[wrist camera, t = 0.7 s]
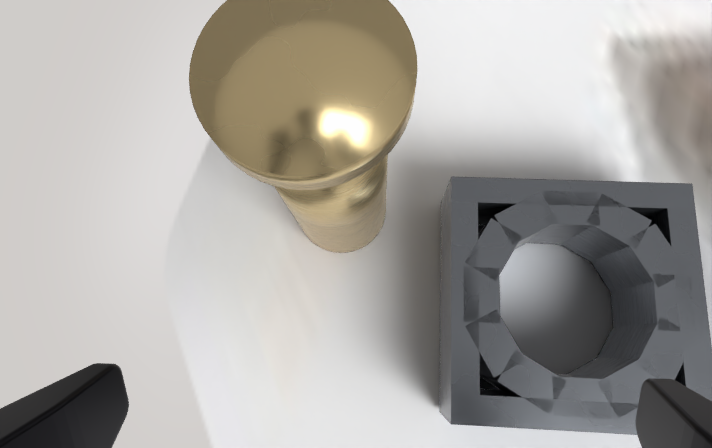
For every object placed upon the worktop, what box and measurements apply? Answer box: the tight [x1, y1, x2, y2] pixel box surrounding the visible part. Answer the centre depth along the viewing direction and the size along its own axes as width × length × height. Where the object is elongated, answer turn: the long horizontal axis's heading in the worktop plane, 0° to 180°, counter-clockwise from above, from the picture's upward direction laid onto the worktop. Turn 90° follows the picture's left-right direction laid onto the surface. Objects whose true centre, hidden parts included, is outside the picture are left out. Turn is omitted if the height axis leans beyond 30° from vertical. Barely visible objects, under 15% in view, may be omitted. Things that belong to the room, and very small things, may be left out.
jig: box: [439, 177, 712, 435], centre depth 20 cm, size 9×9×4 cm
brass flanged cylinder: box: [189, 0, 417, 253], centre depth 17 cm, size 5×5×12 cm
